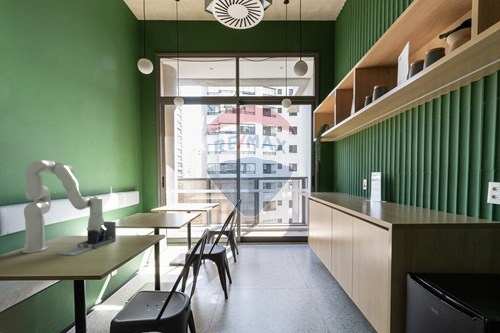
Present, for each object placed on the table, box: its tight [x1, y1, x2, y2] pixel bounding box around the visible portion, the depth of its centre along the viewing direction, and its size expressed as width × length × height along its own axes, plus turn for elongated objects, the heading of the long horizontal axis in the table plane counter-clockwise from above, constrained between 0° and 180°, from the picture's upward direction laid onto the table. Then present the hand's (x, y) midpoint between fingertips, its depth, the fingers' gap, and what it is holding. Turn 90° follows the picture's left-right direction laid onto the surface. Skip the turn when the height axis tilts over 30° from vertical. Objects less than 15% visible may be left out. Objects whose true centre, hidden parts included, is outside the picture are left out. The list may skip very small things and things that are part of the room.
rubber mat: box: [57, 246, 94, 257], centre depth 158 cm, size 13×13×1 cm
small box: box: [87, 230, 105, 244], centre depth 173 cm, size 11×6×10 cm, turn 179°
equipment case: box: [77, 221, 117, 249], centre depth 173 cm, size 15×18×14 cm
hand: (96, 240), depth 173 cm, fingers closed on small box, 7 cm apart
